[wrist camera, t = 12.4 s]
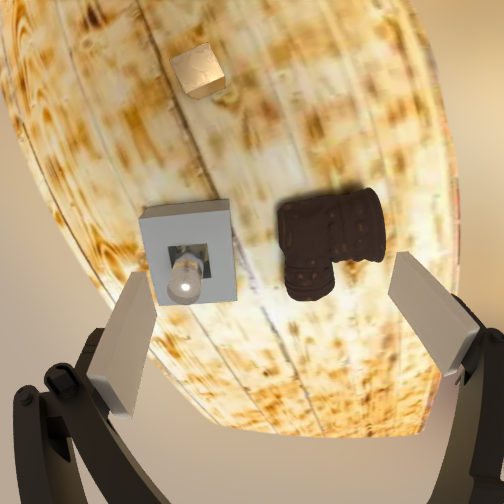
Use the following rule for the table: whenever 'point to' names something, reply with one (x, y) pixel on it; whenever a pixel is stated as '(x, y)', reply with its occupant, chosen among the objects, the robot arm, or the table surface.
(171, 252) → the socket block
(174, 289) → the cylinder
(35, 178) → the table surface
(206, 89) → the square bit
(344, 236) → the pipe
